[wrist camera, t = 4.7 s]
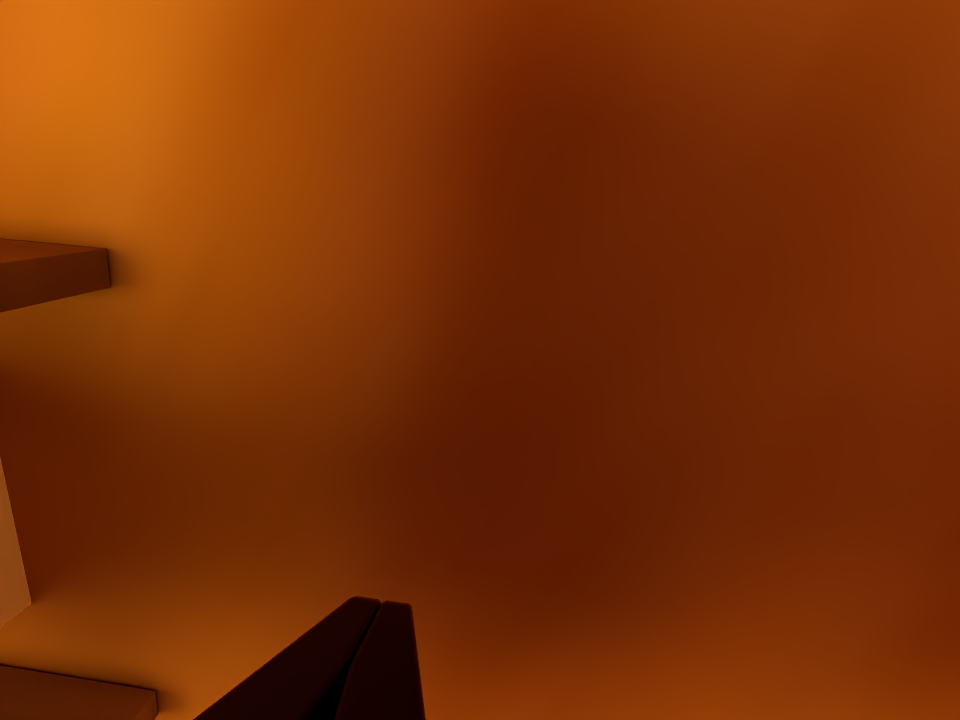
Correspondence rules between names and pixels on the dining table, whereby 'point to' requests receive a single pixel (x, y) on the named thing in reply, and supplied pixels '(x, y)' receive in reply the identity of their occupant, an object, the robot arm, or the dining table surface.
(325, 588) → the dining table surface
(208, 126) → the dining table surface
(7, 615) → the cream block
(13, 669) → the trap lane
